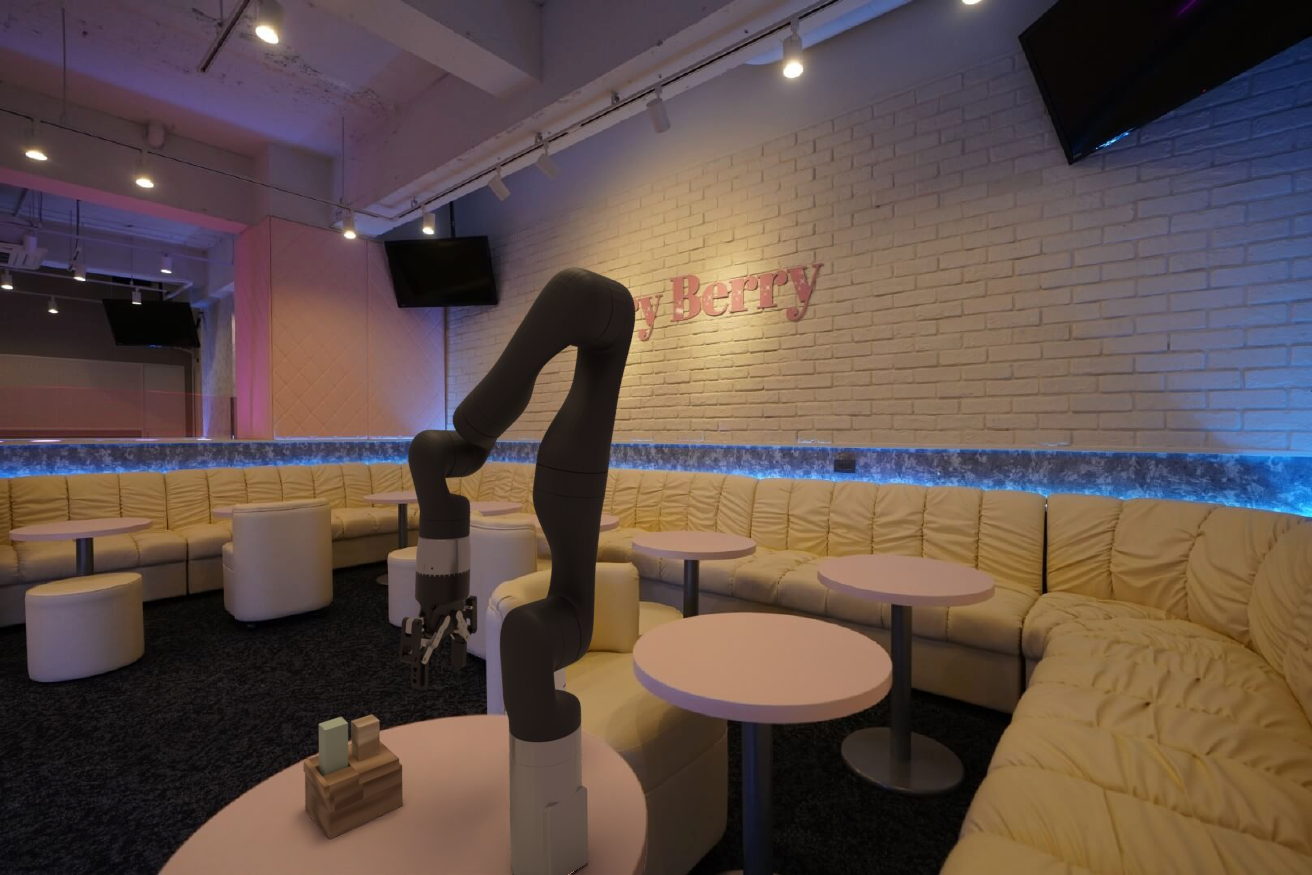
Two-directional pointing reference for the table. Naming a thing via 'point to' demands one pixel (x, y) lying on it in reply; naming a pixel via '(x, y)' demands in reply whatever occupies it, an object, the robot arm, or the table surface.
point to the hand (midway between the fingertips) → (440, 676)
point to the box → (354, 803)
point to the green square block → (333, 746)
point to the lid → (356, 760)
